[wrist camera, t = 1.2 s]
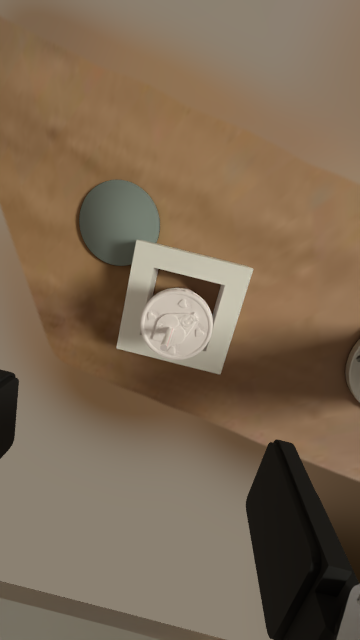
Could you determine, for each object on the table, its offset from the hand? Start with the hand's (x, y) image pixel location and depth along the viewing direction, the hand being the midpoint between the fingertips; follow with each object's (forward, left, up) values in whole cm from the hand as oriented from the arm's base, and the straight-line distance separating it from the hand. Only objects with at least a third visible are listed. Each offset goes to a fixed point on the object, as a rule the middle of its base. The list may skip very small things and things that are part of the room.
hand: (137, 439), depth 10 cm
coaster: (+9, -7, -24) cm, 26 cm away
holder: (0, 0, -24) cm, 24 cm away
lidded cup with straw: (0, 0, -24) cm, 24 cm away
